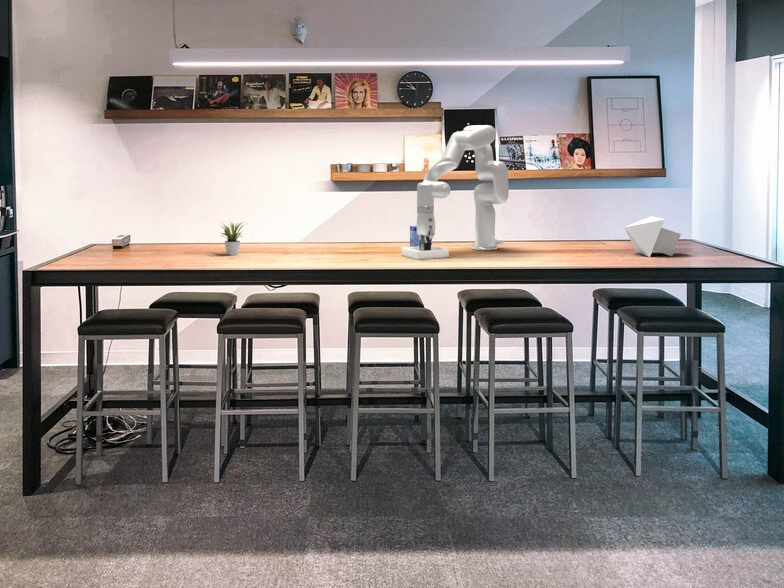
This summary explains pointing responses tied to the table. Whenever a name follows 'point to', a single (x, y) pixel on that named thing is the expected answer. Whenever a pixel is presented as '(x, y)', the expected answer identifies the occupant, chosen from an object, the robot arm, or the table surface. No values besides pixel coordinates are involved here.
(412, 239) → the ink cartridge box
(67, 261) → the table surface
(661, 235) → the pyramid on cube
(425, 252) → the flat white box
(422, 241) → the battery cell
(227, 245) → the house plant
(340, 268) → the table surface
